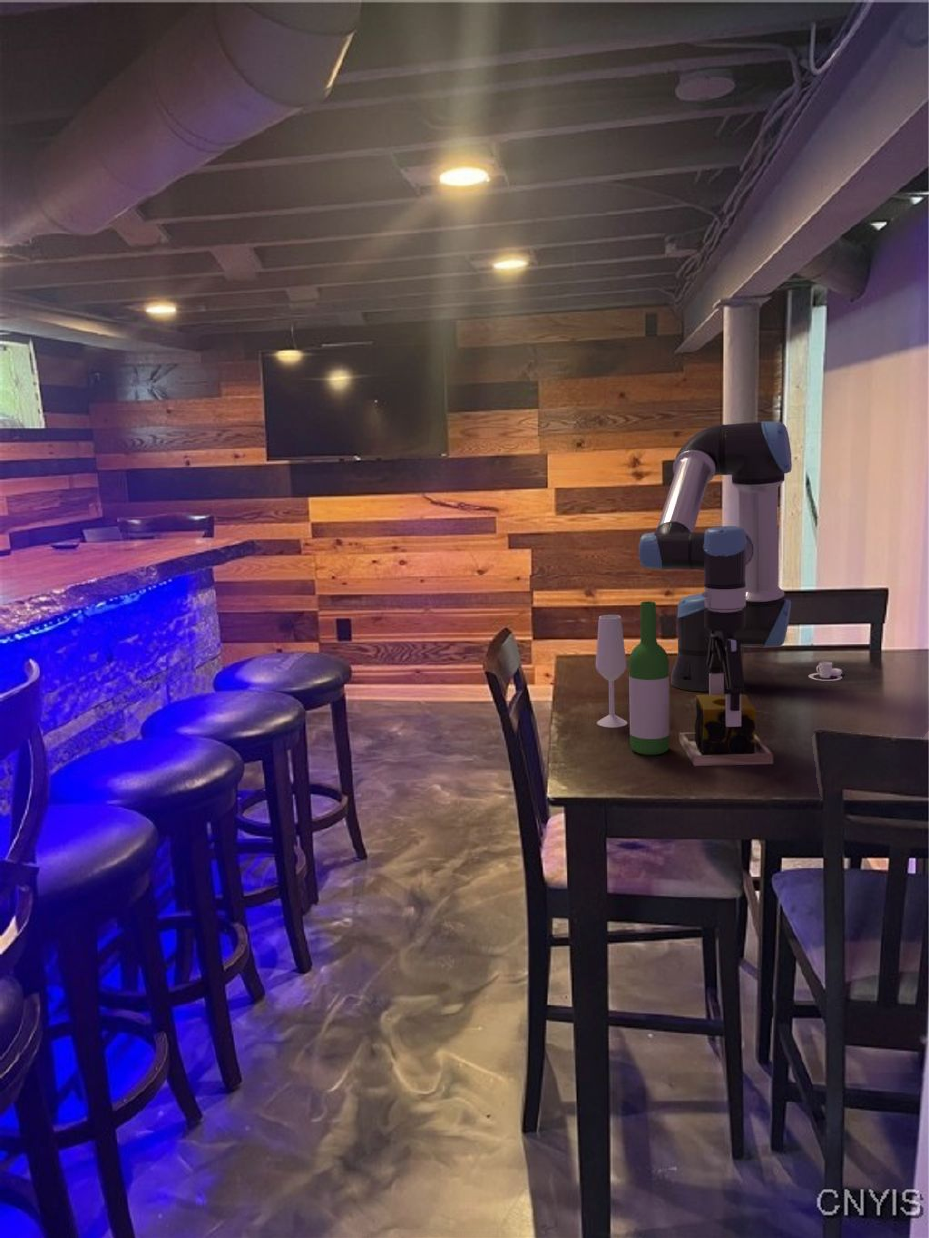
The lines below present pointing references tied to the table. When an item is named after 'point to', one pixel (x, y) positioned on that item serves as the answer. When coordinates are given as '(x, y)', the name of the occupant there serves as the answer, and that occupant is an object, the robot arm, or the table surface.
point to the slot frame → (697, 759)
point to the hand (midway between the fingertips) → (724, 715)
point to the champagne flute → (610, 661)
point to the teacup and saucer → (827, 671)
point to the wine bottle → (649, 689)
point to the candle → (723, 727)
